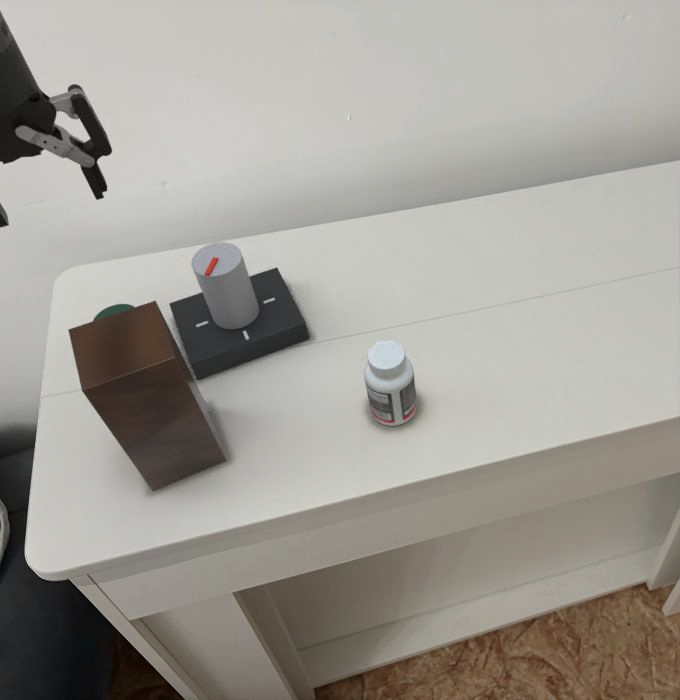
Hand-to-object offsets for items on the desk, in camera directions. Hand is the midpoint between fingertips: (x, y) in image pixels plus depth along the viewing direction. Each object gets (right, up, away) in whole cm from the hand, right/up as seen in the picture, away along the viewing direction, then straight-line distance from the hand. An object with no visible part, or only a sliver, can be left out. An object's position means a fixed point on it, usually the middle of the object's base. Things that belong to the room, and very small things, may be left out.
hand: (52, 208), depth 67 cm
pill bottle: (+31, -20, +15) cm, 40 cm away
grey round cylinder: (+11, -9, +20) cm, 24 cm away
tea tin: (0, -15, +19) cm, 24 cm away
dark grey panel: (+11, -11, +22) cm, 27 cm away
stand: (+8, -24, +11) cm, 28 cm away
